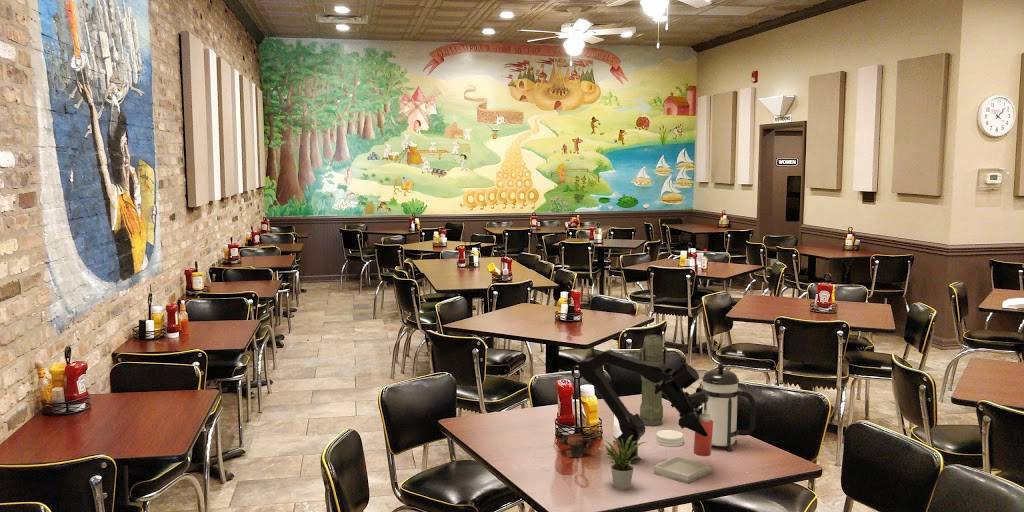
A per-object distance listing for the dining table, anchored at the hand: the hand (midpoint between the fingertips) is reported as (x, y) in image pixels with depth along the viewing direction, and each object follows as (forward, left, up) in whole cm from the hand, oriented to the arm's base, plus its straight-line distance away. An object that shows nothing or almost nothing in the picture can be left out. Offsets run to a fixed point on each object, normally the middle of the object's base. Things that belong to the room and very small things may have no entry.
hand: (707, 433), depth 276 cm
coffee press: (+28, +10, -14) cm, 32 cm away
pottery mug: (-16, +43, -14) cm, 47 cm away
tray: (-6, +6, -13) cm, 16 cm away
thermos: (+33, +44, -13) cm, 56 cm away
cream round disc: (+18, +26, -14) cm, 34 cm away
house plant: (-28, +13, -13) cm, 34 cm away
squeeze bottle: (-1, +2, -7) cm, 7 cm away
